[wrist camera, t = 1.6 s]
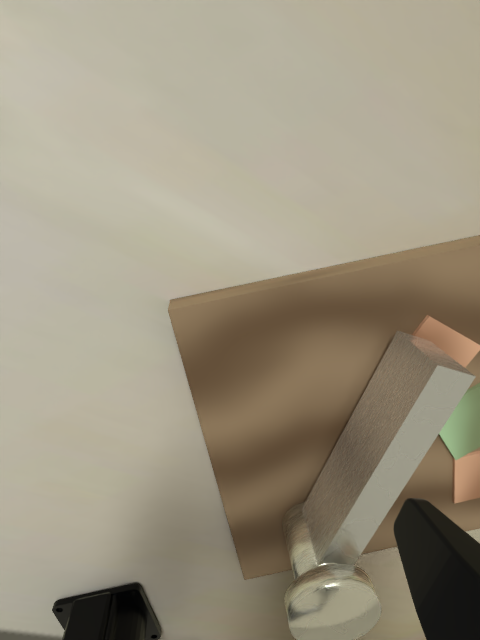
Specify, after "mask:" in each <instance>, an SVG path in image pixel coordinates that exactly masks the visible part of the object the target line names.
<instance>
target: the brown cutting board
mask: <svg viewBox="0 0 480 640" xmlns="http://www.w3.org/2000/svg"><path fill="white" fill-rule="evenodd" d="M168 312H169V316H170V319H171V323H172V326H173V330H174V333H175V337H176V340H177V344H178V347H179V351H180V354H181V358H182V361H183V365H184V368H185V372H186V375H187V379H188V382H189V386H190V390H191V393H192V397H193V400H194V404H195V407H196V411H197V414H198V418H199V421H200V425H201V428H202V432H203V435H204V439H205V442H206V446H207V449H208V453H209V456H210V460H211V463H212V467H213V470H214V474H215V477H216V481H217V484H218V488H219V491H220V495H221V498H222V502H223V505H224V509H225V513H226V516H227V520H228V523H229V527H230V530H231V534H232V537H233V541H234V544H235V548H236V551H237V555H238V558H239V562H240V565H241V569H242V572H243V576H244V579H245V580H247V579H251V578H256V577H260V576H265V575H269V574H274V573H278V572H283V571H288V570H292V565H291V561H290V556H289V552H288V547H287V543H286V538H285V534H284V529H283V525H282V520H283V517H284V515H285V513H286V512H287V511H288V510H289V509H290V508H292V507H293V506H295V505H297V504H300V503H303V502H305V501H306V499H307V498H308V496H309V494H310V492H311V490H312V488H313V486H314V484H315V483H316V481H317V479H318V477H319V475H320V473H321V471H322V470H323V468H324V466H325V464H326V462H327V460H328V458H329V457H330V455H331V453H332V451H333V449H334V447H335V445H336V444H337V442H338V440H339V438H340V436H341V434H342V432H343V431H344V429H345V427H346V425H347V423H348V421H349V419H350V418H351V416H352V414H353V412H354V410H355V408H356V406H357V404H358V403H359V401H360V399H361V397H362V395H363V393H364V391H365V390H366V388H367V386H368V384H369V382H370V380H371V378H372V377H373V375H374V373H375V371H376V369H377V367H378V365H379V364H380V362H381V360H382V358H383V356H384V354H385V352H386V351H387V349H388V347H389V345H390V343H391V341H392V339H393V338H394V336H395V334H396V332H397V331H401V332H404V333H407V334H410V335H413V336H417V337H420V338H423V339H426V340H429V341H431V342H432V343H434V344H435V345H436V346H437V347H439V348H440V349H441V350H443V351H444V352H445V353H446V354H448V355H449V356H450V357H451V358H453V359H454V360H455V361H457V362H458V363H459V364H460V365H462V366H463V367H464V368H466V369H467V370H468V371H469V372H471V373H472V374H473V375H475V376H476V377H475V379H474V380H473V382H472V383H471V385H470V386H469V388H468V390H467V391H466V393H465V394H464V396H463V397H462V399H461V400H460V402H459V403H458V405H457V406H456V408H455V410H454V411H453V413H452V414H451V416H450V417H449V419H448V420H447V422H446V423H445V425H444V427H443V428H442V430H441V431H440V433H439V434H438V436H437V437H436V439H435V440H434V442H433V444H432V445H431V447H430V448H429V450H428V451H427V453H426V454H425V456H424V457H423V459H422V461H421V462H420V464H419V465H418V467H417V468H416V470H415V471H414V473H413V474H412V476H411V478H410V479H409V481H408V482H407V484H406V485H405V487H404V488H403V490H402V491H401V493H400V494H399V496H398V498H397V499H396V501H395V502H394V504H393V505H392V507H391V508H390V510H389V511H388V513H387V515H386V516H385V518H384V519H383V521H382V522H381V524H380V525H379V527H378V528H377V530H376V532H375V533H374V535H373V536H372V538H371V539H370V541H369V542H368V544H367V545H366V547H365V549H364V550H363V552H362V553H361V554H365V553H369V552H374V551H378V550H383V549H388V548H392V547H397V543H396V539H395V536H394V522H395V520H396V518H397V516H398V514H399V512H400V510H401V508H402V506H403V503H404V502H405V500H406V499H408V498H419V499H425V500H427V501H429V502H430V503H431V504H433V505H434V506H435V507H436V508H437V509H439V510H440V511H441V512H442V513H443V514H445V515H446V516H447V517H448V518H449V519H451V520H452V521H453V522H454V523H455V524H457V525H458V526H459V527H460V528H461V529H463V530H464V531H469V530H474V529H479V528H480V235H479V236H474V237H469V238H464V239H460V240H455V241H450V242H445V243H440V244H436V245H431V246H426V247H421V248H416V249H412V250H407V251H402V252H397V253H393V254H388V255H383V256H378V257H373V258H369V259H364V260H359V261H354V262H349V263H345V264H340V265H335V266H330V267H326V268H321V269H316V270H311V271H306V272H302V273H297V274H292V275H287V276H282V277H278V278H273V279H268V280H263V281H259V282H254V283H249V284H244V285H239V286H235V287H230V288H225V289H220V290H215V291H211V292H206V293H201V294H196V295H192V296H187V297H182V298H177V299H172V300H170V303H169V308H168Z"/></svg>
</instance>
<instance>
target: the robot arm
mask: <svg viewBox="0 0 480 640" xmlns="http://www.w3.org/2000/svg"><path fill="white" fill-rule="evenodd" d="M394 536H395V539H396V543H397V546H398V550H399V554H400V557H401V561H402V564H403V568H404V571H405V575H406V578H407V582H408V585H409V589H410V592H411V596H412V599H413V602H414V606H415V609H416V612H417V615H418V618H419V620H420V623H421V626H422V629H423V631H424V634H425V637H426V639H427V640H480V543H478V542H477V541H476V540H475V539H474V538H472V537H471V536H470V535H469V534H467V533H466V532H465V531H464V530H463V529H461V528H460V527H459V526H458V525H457V524H455V523H454V522H453V521H452V520H451V519H449V518H448V517H447V516H446V515H445V514H443V513H442V512H441V511H440V510H439V509H437V508H436V507H435V506H434V505H433V504H431V503H430V502H429V501H427V500H425V499H419V498H408V499H406V500H405V502H404V503H403V506H402V508H401V510H400V512H399V514H398V516H397V518H396V520H395V522H394ZM52 611H53V613H54V614H55V616H56V618H57V619H58V621H59V622H60V624H61V625H62V627H63V629H64V630H65V632H64V635H63V638H62V640H158V639H159V638H160V637H161V629H160V627H159V624H158V622H157V620H156V618H155V616H154V614H153V611H152V609H151V607H150V605H149V603H148V601H147V598H146V596H145V594H144V592H143V590H142V588H141V586H140V585H138V584H130V585H125V586H121V587H116V588H112V589H107V590H102V591H98V592H93V593H89V594H84V595H80V596H75V597H71V598H66V599H61V600H58V601H56V602H55V603H54V606H53V609H52Z"/></svg>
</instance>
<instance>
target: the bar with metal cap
mask: <svg viewBox="0 0 480 640" xmlns="http://www.w3.org/2000/svg"><path fill="white" fill-rule="evenodd" d="M475 377H476V376H475V375H473V374H472V373H471V372H469V371H468V370H467V369H466V368H464V367H463V366H462V365H460V364H459V363H458V362H457V361H455V360H454V359H453V358H451V357H450V356H449V355H448V354H446V353H445V352H444V351H443V350H441V349H440V348H439V347H437V346H436V345H435V344H434V343H432V342H431V341H429V340H426V339H423V338H420V337H417V336H413V335H410V334H407V333H404V332H401V331H397V332H396V334H395V336H394V338H393V339H392V341H391V343H390V345H389V347H388V349H387V351H386V352H385V354H384V356H383V358H382V360H381V362H380V364H379V365H378V367H377V369H376V371H375V373H374V375H373V377H372V378H371V380H370V382H369V384H368V386H367V388H366V390H365V391H364V393H363V395H362V397H361V399H360V401H359V403H358V404H357V406H356V408H355V410H354V412H353V414H352V416H351V418H350V419H349V421H348V423H347V425H346V427H345V429H344V431H343V432H342V434H341V436H340V438H339V440H338V442H337V444H336V445H335V447H334V449H333V451H332V453H331V455H330V457H329V458H328V460H327V462H326V464H325V466H324V468H323V470H322V471H321V473H320V475H319V477H318V479H317V481H316V483H315V484H314V486H313V488H312V490H311V492H310V494H309V496H308V498H307V499H306V501H305V502H303V503H300V504H297V505H295V506H293V507H292V508H290V509H289V510H288V511H287V512H286V513H285V515H284V517H283V520H282V525H283V529H284V534H285V538H286V543H287V547H288V552H289V556H290V561H291V565H292V570H293V574H294V579H295V580H294V581H293V582H292V583H291V584H290V586H289V587H288V589H287V591H286V594H285V599H284V601H285V607H286V613H287V618H288V623H289V628H290V632H291V634H292V635H293V636H294V638H295V639H297V640H356V639H358V638H360V637H361V636H363V635H365V634H366V633H367V632H369V631H370V630H371V629H372V628H373V627H374V626H375V625H376V623H377V622H378V620H379V618H380V615H381V604H380V602H379V599H378V597H377V594H376V592H375V590H374V587H373V585H372V582H371V580H370V577H369V576H368V574H367V573H366V572H365V571H363V570H362V569H360V568H358V567H355V566H354V564H355V562H356V561H357V559H358V558H359V556H360V555H361V553H362V552H363V550H364V549H365V547H366V545H367V544H368V542H369V541H370V539H371V538H372V536H373V535H374V533H375V532H376V530H377V528H378V527H379V525H380V524H381V522H382V521H383V519H384V518H385V516H386V515H387V513H388V511H389V510H390V508H391V507H392V505H393V504H394V502H395V501H396V499H397V498H398V496H399V494H400V493H401V491H402V490H403V488H404V487H405V485H406V484H407V482H408V481H409V479H410V478H411V476H412V474H413V473H414V471H415V470H416V468H417V467H418V465H419V464H420V462H421V461H422V459H423V457H424V456H425V454H426V453H427V451H428V450H429V448H430V447H431V445H432V444H433V442H434V440H435V439H436V437H437V436H438V434H439V433H440V431H441V430H442V428H443V427H444V425H445V423H446V422H447V420H448V419H449V417H450V416H451V414H452V413H453V411H454V410H455V408H456V406H457V405H458V403H459V402H460V400H461V399H462V397H463V396H464V394H465V393H466V391H467V390H468V388H469V386H470V385H471V383H472V382H473V380H474V379H475Z"/></svg>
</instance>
